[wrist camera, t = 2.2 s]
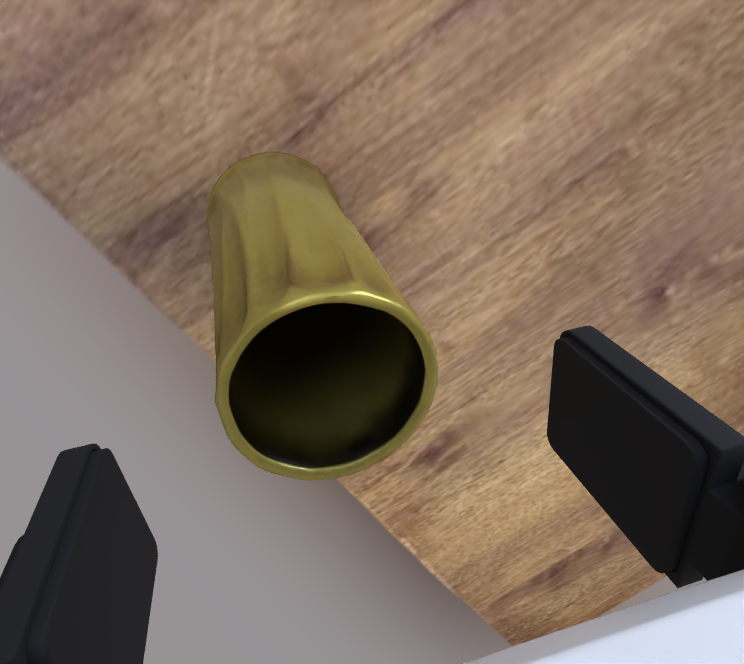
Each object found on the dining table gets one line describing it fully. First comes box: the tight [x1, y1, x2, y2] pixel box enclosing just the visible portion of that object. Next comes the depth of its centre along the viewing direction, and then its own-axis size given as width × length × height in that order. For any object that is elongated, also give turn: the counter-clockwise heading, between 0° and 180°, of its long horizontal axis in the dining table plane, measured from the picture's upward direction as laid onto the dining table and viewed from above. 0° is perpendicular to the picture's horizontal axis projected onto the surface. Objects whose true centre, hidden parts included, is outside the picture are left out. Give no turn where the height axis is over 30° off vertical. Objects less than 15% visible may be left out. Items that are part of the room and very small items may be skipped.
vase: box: [207, 152, 438, 480], centre depth 18 cm, size 6×6×14 cm
